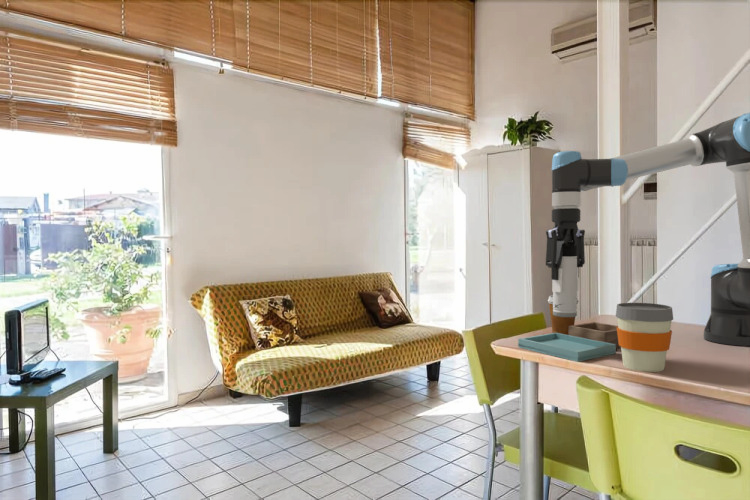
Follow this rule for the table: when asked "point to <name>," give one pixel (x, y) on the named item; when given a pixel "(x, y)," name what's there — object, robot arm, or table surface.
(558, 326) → the disposable coffee cup
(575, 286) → the travel mug
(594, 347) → the tray
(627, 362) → the reusable coffee cup
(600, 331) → the brown wooden crate
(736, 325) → the robot arm
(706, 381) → the table surface
